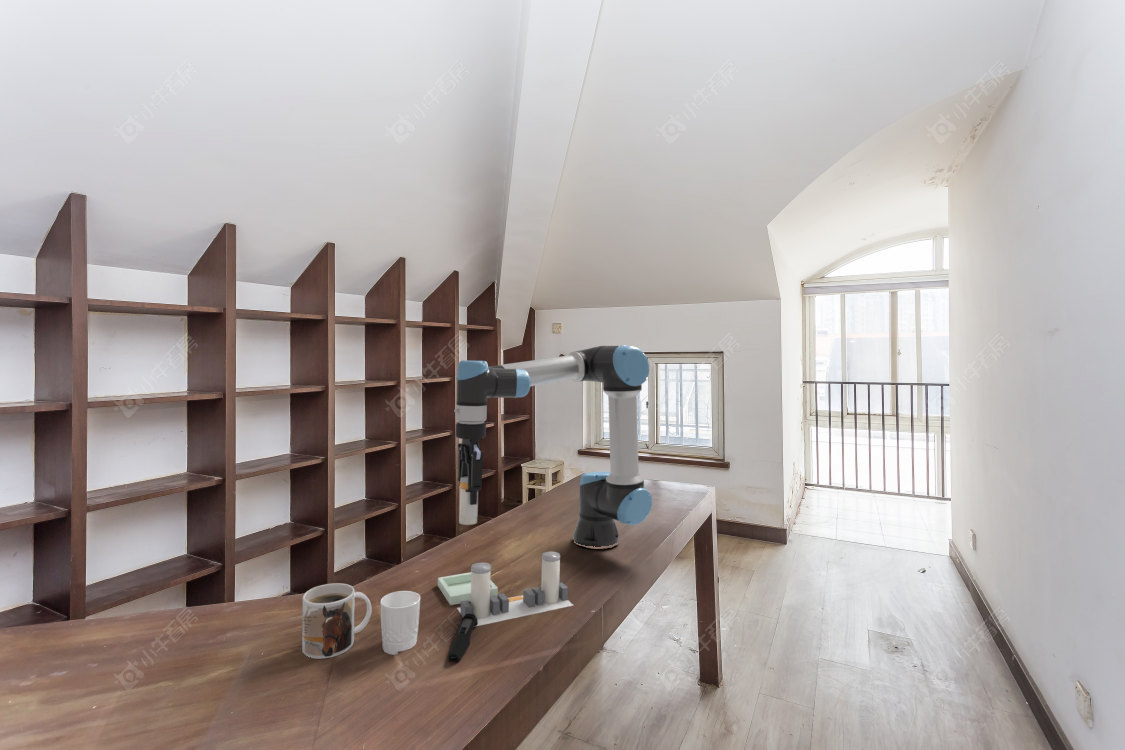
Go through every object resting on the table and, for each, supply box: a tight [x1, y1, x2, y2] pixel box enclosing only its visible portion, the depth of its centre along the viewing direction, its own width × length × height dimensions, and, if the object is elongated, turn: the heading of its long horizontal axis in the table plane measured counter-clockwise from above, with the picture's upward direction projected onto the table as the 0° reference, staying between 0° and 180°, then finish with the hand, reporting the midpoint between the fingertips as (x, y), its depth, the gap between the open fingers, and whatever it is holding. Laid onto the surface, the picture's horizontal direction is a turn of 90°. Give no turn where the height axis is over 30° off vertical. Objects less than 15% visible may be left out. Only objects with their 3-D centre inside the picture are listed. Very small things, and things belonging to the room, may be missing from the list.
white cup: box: [379, 590, 421, 656], centre depth 111 cm, size 8×8×10 cm
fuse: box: [470, 562, 492, 619], centre depth 124 cm, size 4×4×11 cm
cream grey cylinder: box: [540, 551, 561, 604], centre depth 132 cm, size 4×4×11 cm
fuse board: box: [456, 581, 574, 628], centre depth 128 cm, size 26×10×4 cm, turn 117°
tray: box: [437, 571, 499, 606], centre depth 136 cm, size 12×12×3 cm
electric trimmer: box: [447, 614, 478, 662], centre depth 112 cm, size 4×16×3 cm, turn 177°
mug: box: [301, 582, 372, 660], centre depth 111 cm, size 10×12×11 cm
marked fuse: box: [458, 476, 478, 526], centre depth 135 cm, size 4×4×11 cm
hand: (468, 513), depth 135 cm, fingers closed on marked fuse, 4 cm apart
